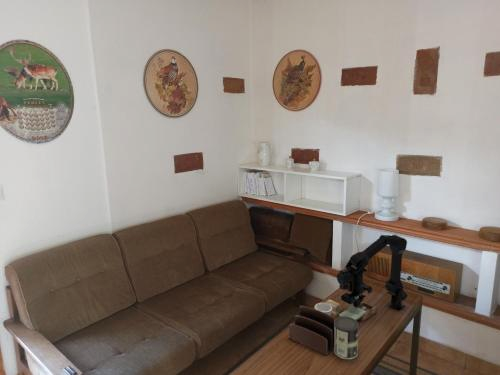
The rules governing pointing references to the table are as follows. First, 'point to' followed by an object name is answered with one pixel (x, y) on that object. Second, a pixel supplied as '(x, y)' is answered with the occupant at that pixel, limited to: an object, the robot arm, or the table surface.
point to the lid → (352, 312)
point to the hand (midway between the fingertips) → (356, 308)
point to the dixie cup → (324, 308)
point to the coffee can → (346, 337)
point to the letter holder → (313, 330)
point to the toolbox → (367, 310)
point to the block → (334, 307)
